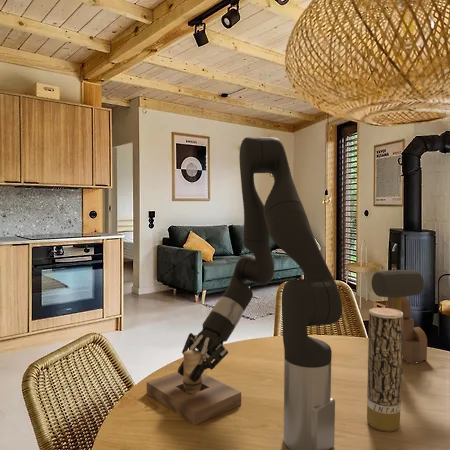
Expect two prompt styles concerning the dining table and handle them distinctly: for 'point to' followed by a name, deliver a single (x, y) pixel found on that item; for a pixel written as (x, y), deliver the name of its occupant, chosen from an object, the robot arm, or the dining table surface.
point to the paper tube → (384, 368)
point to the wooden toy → (411, 335)
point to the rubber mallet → (397, 286)
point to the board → (194, 397)
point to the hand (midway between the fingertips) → (186, 376)
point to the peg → (189, 364)
